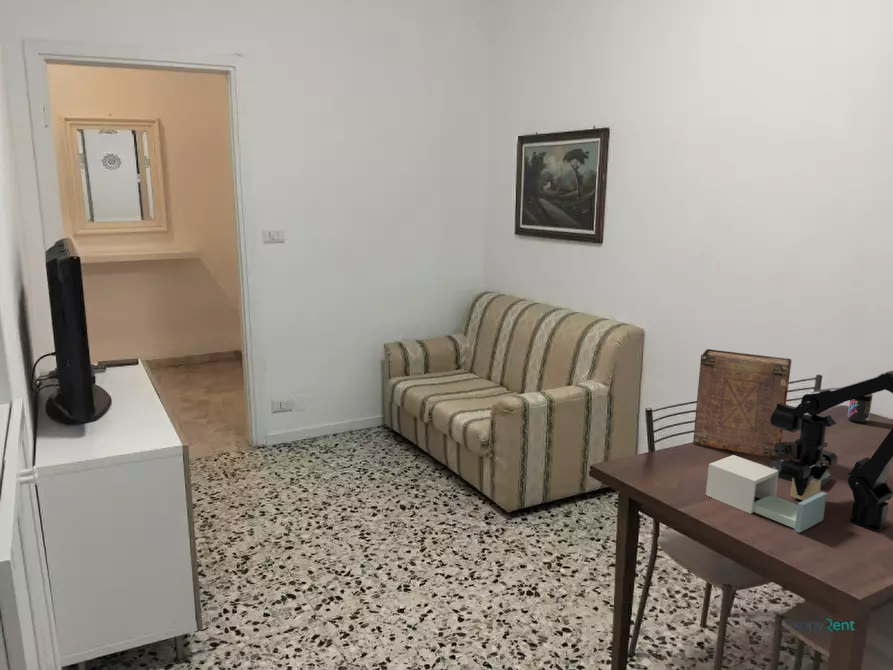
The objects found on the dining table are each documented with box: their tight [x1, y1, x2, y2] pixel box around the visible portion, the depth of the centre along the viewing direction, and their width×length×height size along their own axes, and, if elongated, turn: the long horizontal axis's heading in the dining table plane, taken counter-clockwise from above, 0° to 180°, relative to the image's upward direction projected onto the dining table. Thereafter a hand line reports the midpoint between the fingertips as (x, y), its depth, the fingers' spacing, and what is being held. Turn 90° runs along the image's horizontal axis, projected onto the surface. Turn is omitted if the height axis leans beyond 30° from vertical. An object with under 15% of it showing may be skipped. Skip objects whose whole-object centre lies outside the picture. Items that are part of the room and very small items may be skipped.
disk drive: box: [765, 457, 832, 489], centre depth 197 cm, size 10×3×15 cm
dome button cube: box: [789, 478, 821, 501], centre depth 181 cm, size 5×5×5 cm
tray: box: [753, 491, 828, 534], centre depth 171 cm, size 13×11×7 cm
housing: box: [705, 454, 779, 515], centre depth 181 cm, size 13×11×9 cm
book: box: [692, 348, 792, 460], centre depth 215 cm, size 25×9×30 cm, turn 61°
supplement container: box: [846, 393, 873, 424], centre depth 245 cm, size 7×7×10 cm
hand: (804, 493), depth 181 cm, fingers closed on dome button cube, 5 cm apart
